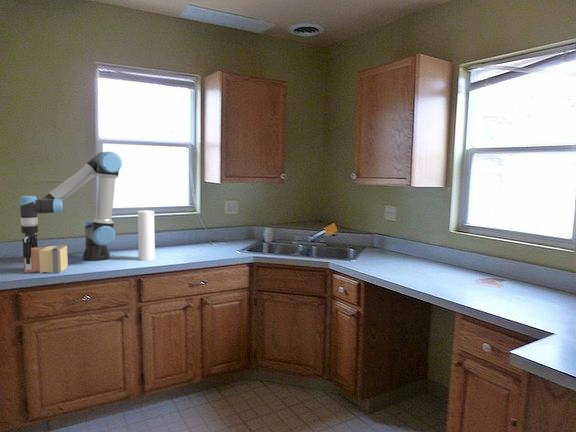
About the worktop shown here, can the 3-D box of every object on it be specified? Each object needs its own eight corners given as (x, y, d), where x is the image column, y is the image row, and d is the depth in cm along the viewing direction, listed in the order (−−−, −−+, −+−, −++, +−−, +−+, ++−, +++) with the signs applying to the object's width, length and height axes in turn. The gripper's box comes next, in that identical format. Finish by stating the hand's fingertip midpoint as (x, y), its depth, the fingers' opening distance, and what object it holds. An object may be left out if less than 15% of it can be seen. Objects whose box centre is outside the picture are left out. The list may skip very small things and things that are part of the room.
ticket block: (68, 266, 231) (67, 243, 229) (60, 273, 216) (59, 248, 215) (49, 267, 229) (48, 243, 227) (38, 273, 214) (37, 249, 212)
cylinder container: (157, 258, 256) (157, 210, 253) (148, 261, 248) (147, 211, 244) (145, 256, 259) (144, 209, 256) (135, 259, 251) (134, 210, 247)
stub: (45, 269, 224) (44, 247, 223) (41, 271, 218) (40, 249, 217) (29, 269, 222) (28, 247, 221) (24, 272, 216) (23, 249, 215)
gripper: (28, 222, 226) (30, 264, 228) (13, 227, 207) (16, 272, 210) (43, 222, 227) (45, 263, 230) (30, 227, 209) (32, 272, 211)
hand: (31, 268), depth 220 cm, fingers closed on stub, 6 cm apart
